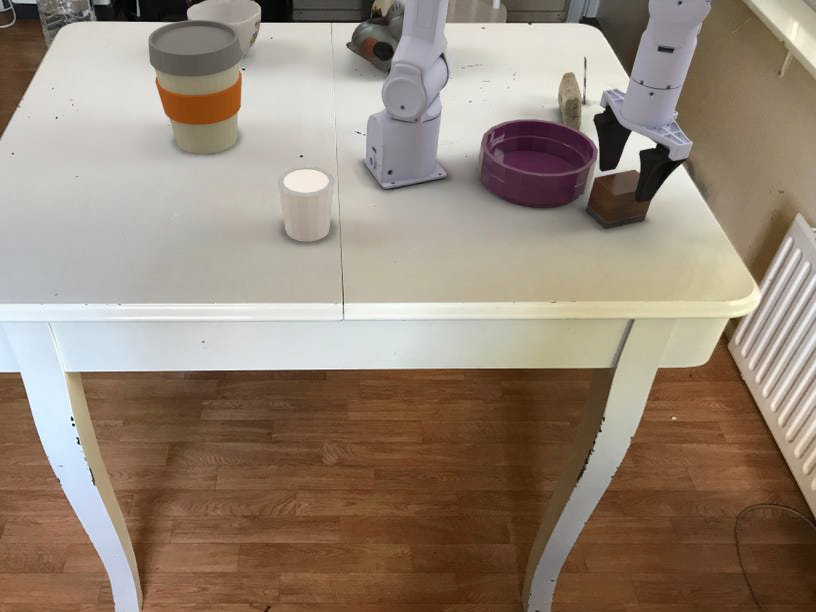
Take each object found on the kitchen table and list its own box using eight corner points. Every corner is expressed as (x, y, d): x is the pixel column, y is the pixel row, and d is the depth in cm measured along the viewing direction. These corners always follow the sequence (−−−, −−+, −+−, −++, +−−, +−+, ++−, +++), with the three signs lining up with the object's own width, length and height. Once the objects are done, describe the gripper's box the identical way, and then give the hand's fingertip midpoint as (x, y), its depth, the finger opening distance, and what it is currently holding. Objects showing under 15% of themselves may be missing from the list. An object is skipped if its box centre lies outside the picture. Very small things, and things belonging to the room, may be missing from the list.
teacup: (191, 44, 137) (185, -3, 131) (260, 39, 138) (257, -7, 133) (194, 79, 126) (188, 31, 121) (268, 74, 128) (265, 26, 122)
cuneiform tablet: (584, 100, 121) (594, 135, 112) (555, 104, 122) (563, 139, 113) (585, 56, 116) (596, 90, 107) (555, 61, 117) (563, 94, 108)
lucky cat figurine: (360, 43, 137) (400, -32, 129) (414, 80, 137) (457, 7, 129) (333, 49, 124) (376, -33, 117) (393, 90, 124) (439, 10, 117)
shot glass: (304, 207, 99) (303, 159, 94) (345, 226, 96) (346, 178, 91) (269, 230, 95) (265, 182, 90) (310, 251, 92) (308, 202, 87)
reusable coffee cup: (252, 119, 116) (244, 19, 106) (245, 160, 107) (235, 55, 97) (171, 119, 116) (154, 19, 106) (157, 160, 107) (138, 55, 97)
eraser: (604, 229, 95) (615, 195, 92) (585, 211, 98) (594, 177, 95) (644, 220, 97) (656, 186, 93) (624, 202, 100) (634, 169, 96)
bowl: (510, 218, 97) (517, 184, 93) (458, 161, 107) (462, 129, 104) (611, 197, 101) (621, 163, 97) (551, 144, 111) (558, 112, 107)
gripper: (730, 100, 81) (689, 208, 90) (647, 49, 90) (618, 151, 100) (675, 110, 79) (639, 219, 89) (597, 57, 89) (572, 160, 98)
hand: (624, 184), depth 94 cm, fingers open, 7 cm apart
